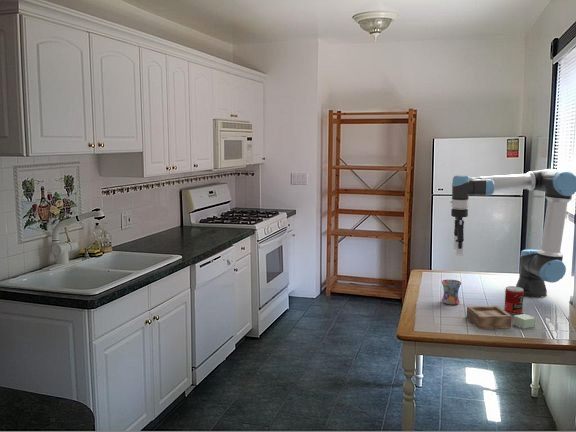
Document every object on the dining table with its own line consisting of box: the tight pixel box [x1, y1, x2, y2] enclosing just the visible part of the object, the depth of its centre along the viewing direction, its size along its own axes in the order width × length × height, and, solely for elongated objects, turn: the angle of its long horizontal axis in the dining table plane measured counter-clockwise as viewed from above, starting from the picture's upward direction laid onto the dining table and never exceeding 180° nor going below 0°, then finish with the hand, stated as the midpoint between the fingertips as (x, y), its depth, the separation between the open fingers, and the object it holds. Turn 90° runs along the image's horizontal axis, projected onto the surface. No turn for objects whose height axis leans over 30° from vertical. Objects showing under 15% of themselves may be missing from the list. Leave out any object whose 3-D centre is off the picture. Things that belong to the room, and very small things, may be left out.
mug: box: [441, 279, 462, 306], centre depth 267 cm, size 12×9×11 cm
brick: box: [512, 313, 536, 329], centre depth 235 cm, size 6×6×4 cm
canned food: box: [503, 285, 524, 315], centre depth 254 cm, size 8×8×11 cm
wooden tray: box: [466, 305, 513, 329], centre depth 238 cm, size 14×14×5 cm
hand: (458, 252), depth 262 cm, fingers open, 13 cm apart
